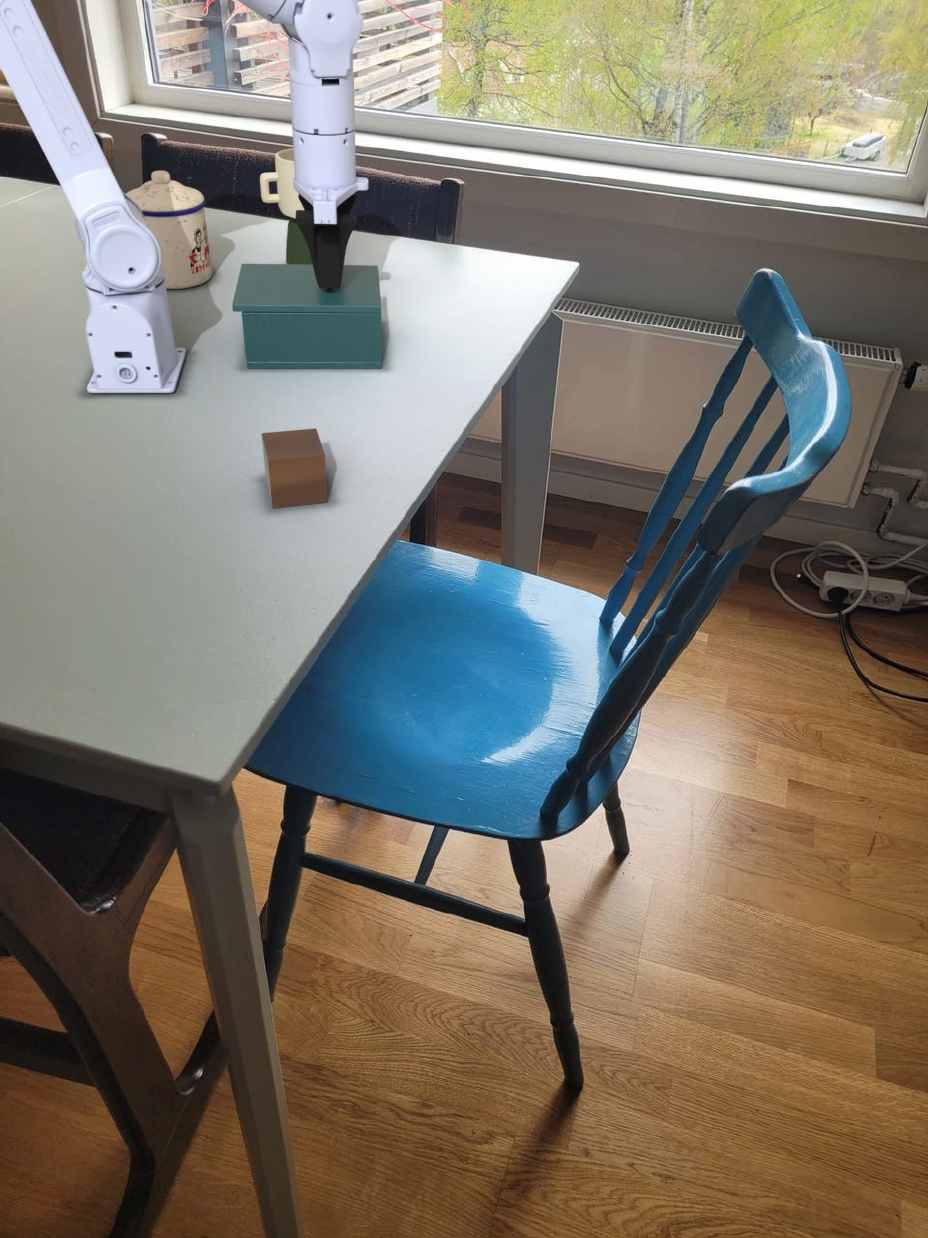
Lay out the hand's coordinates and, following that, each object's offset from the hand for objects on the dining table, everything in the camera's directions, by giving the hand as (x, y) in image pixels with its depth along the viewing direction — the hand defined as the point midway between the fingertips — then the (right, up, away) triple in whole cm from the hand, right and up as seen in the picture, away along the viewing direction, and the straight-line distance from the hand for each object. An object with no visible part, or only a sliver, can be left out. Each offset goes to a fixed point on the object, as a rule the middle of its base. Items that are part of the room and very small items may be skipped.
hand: (329, 276), depth 96 cm
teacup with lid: (-21, +7, +19) cm, 29 cm away
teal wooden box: (-2, -6, +4) cm, 7 cm away
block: (0, -24, -18) cm, 30 cm away
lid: (-2, -1, +1) cm, 3 cm away
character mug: (-5, +9, +22) cm, 24 cm away
